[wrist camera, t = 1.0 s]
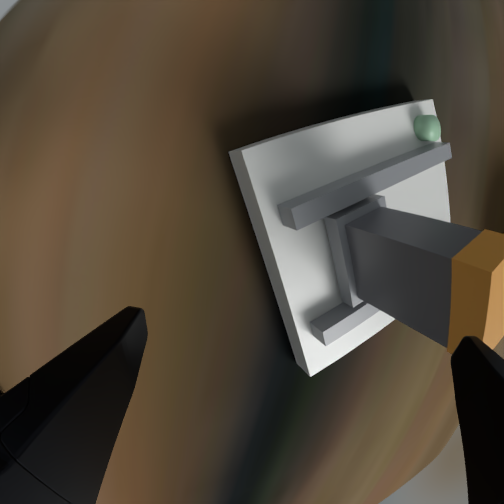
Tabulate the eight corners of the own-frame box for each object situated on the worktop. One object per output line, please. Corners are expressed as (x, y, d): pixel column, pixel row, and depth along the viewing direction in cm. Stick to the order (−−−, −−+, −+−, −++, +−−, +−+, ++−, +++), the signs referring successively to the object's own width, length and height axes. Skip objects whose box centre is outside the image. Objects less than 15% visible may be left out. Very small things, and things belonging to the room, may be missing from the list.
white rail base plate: (296, 362, 24) (321, 388, 20) (228, 151, 17) (253, 149, 14) (436, 266, 28) (463, 277, 25) (414, 100, 22) (447, 98, 19)
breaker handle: (341, 300, 21) (471, 379, 11) (323, 216, 18) (487, 268, 9) (383, 274, 22) (509, 331, 12) (371, 193, 19) (523, 226, 10)
